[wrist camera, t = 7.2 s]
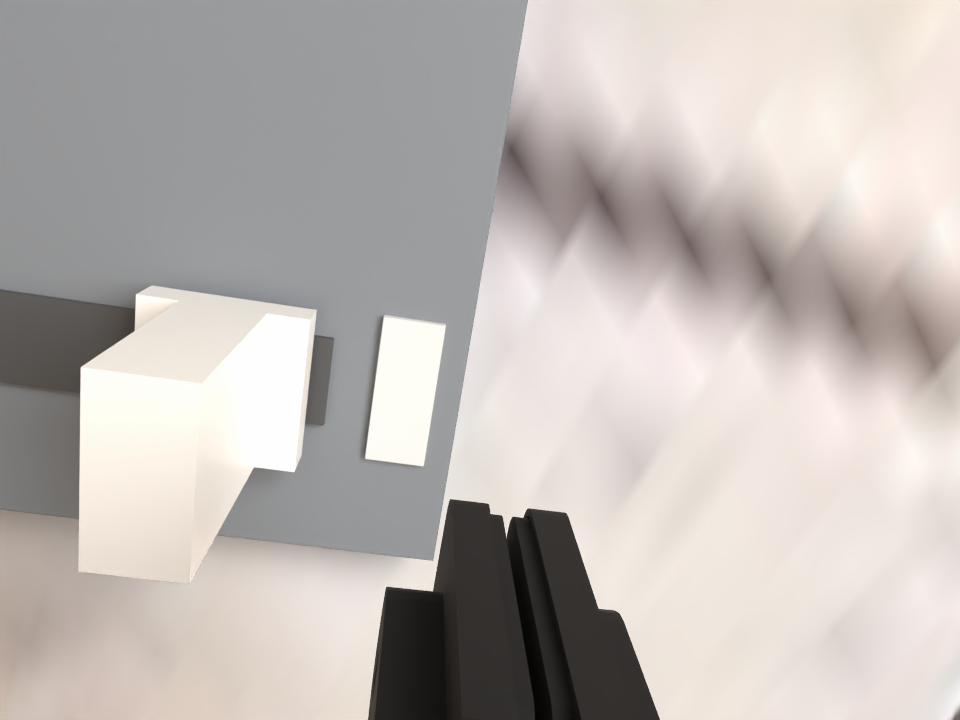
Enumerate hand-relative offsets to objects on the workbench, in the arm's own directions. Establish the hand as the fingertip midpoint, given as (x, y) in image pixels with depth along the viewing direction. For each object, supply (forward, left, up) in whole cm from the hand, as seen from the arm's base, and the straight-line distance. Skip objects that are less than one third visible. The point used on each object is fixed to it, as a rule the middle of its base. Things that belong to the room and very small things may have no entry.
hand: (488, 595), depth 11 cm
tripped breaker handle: (-1, +6, -9) cm, 11 cm away
